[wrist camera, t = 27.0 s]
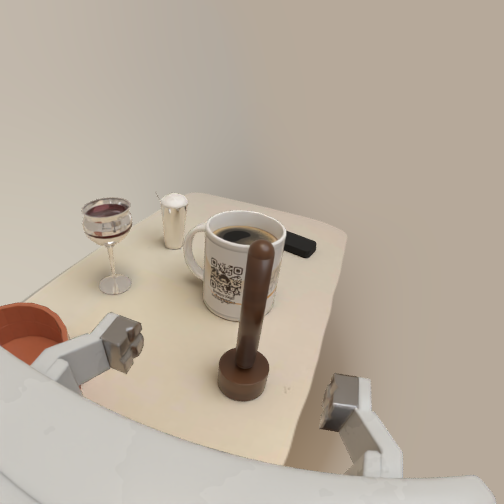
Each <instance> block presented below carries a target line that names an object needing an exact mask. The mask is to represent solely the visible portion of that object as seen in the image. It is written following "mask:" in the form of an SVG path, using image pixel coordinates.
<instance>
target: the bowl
mask: <svg viewBox="0 0 504 504" xmlns="http://www.w3.org/2000/svg"><path fill="white" fill-rule="evenodd" d="M68 340H70V337H69V334H68V331H67V329H66V326H65V325H64V323H63V322H62V320H61V319H60V317H59V316H58V315H57V314H56V313H54V312H53V311H52V310H50V309H49V308H47V307H45V306H41V305H38V304H35V303H13V304H8V305H4V306H0V346H1V347H3V348H4V349H6V350H7V351H8V352H10V353H11V354H13V355H14V356H16V357H17V358H19V359H20V360H22V361H23V362H25V363H26V364H28V365H29V366H30V365H31V364H32V363H33V362H34V361H35V360H36V359H37V357H38V356H39V355H40V354H41V353H42V352H43V351H44V350H45V349H46V348H49V347H51V346H54V345H57V344H60V343H62V342H65V341H68ZM79 388H81V385H80V386H79Z"/></svg>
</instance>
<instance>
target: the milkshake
mask: <svg viewBox="0 0 504 504" xmlns="http://www.w3.org/2000/svg"><path fill="white" fill-rule="evenodd" d="M160 203H161V212H162V221H163V232H164V242H165V246H166V247H167V248H169V249H179V248H181V247H183V241H184V230H185V220H186V214H187V207H188V200H187V198H186V197H185V196H183V195H180V194H179V193H170V194H168V195H166V196H164V197H163V198H162V199H161V201H160Z"/></svg>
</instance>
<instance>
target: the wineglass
mask: <svg viewBox="0 0 504 504" xmlns="http://www.w3.org/2000/svg"><path fill="white" fill-rule="evenodd" d="M130 207H131V203H130V202H129V201H128V200H125V199H122V198H114V197H109V198H102V199H96V200H94V201H91V202H89V203H87V204H85V205H84V206H83V207H82V210H81V211H82V214H83V215H84V218H83V229H84V231H85V233H86V235H87V237H88V238H89V239H90V240H92V241H93V242H95V243H96V244H98V245H101V246H105V247H107V249H108V255H109V260H110V266H111V271H112V275H109V276H107V277H105V278H103V279H102V280H101V281H100V283H99V288H100V290H101V291H102V292H104V293H106V294H112V295H113V294H120V293H123V292H125V291H126V290H128V289H129V288H130V286H131V280H130V278H129V277H127V276H125V275H122V274H115V268H114V257H113V246H114V245H115V244H117V243H119V242H121V241H122V240H123V239H124V238H125V237H126V236H127V235H128V233H129V232H130V229H131V227H132V216H131V213H130V212H129V208H130Z"/></svg>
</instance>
